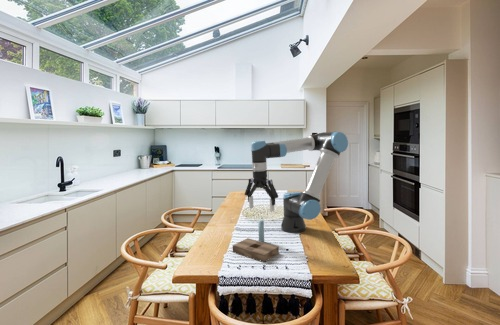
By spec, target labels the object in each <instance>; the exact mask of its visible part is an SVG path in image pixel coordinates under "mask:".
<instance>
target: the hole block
mask: <svg viewBox="0 0 500 325" xmlns="http://www.w3.org/2000/svg"><path fill="white" fill-rule="evenodd" d="M279 248H280V247H279V246H278V245H275V244H271V243H267V242H265V241H264V242H260V241H259V240H256V239H252V238H248V237H247V238H245V239H243V240H241V241H238V242H237V243H235V244H233V245H232V253H234V252H236V253H235V254H237V253H239V254H238V255H240V254H242V255H241V256H243V255H245V257H247V256H248V258H250V257H251V258H250V259H253V258H254V259H253V260H256V259H257V260H256V261H259V260H261V261H260V262H262V261H264V262H263V263H266V262H267V261H269V260H270V258H271V259H272V258H274V257H275V256H277V255H279V254H280V253H279V252H280V251H279V250H280V249H279ZM268 259H269V260H268ZM266 260H267V261H266ZM265 261H266V262H265Z"/></svg>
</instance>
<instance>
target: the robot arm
mask: <svg viewBox="0 0 500 325" xmlns="http://www.w3.org/2000/svg"><path fill="white" fill-rule="evenodd" d="M250 146H251V147H250V148H251V149H250V150H251V161H252V162H251V163H252V164H251V166H252V177H251V178H249V179H248V183H247V186H246V189H245V192H244V196H247V202H248V203H249V204H248V206H249V210H251V209H254V196H253V194H254V192H255V191H256V189H263V190H264V191H265V192H266V194H267V195H268V196H269V198H270V199H269V208H270V210H269V211H270V212H271V213H272V212H274V211H275V205H276V199H277V198H279V195H278V192H277V190H276V188H275V185H274V182H273V179H267V178H268V172H267V171H268V168H267V167H268V165H267V163H268V162H267V159H274V158H275V159H276V158H284V157H286V156H287V154H289V153H294V152H302V151H307V150H308V151H311V152H312V151H319V152H320V154H319V155H320V156H319V157H318V160H317V161H316V164H315V166H314V168H313V172H312V173H311V175H310V178H309V180H308V183H307V185H306V188H305V189H304V190H303V191H290V192H285V193H284V194H283V196H282V200H283V202H282V203H283V218H282V222H281V224H280V226H281V227H280V228H281V230H282V231H283V232H285V233H292V234H294V233H295V234H296V233H301V232H305V231H306V229H307V228H306V222H305V220H311V221H312V220H313V219H316V218H317V217H319V215H320V213H321V210H322V207H321V204H320V202H321V198H320V195H321V193H322V190H323V188H324V186H325V183H326V181H327V179H328V177H329V174H330V172H331V168H332V167H333V165H334V162H335V160H336V159H337V158H339V157H340V155H341V153H344V152H345V151H346V150H347V149H348V146H349V140H348V137H347V136H346V134H345V133H344V132H341V131H328V132H327V131H325V132H319V133H315V134H312V135H307V136H306V137H302V138H294V139H287V140H279V141H273V142H267V143H266V141H265V140H256V141H255V140H254V141H252V142H251V145H250Z"/></svg>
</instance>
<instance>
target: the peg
mask: <svg viewBox="0 0 500 325" xmlns="http://www.w3.org/2000/svg"><path fill="white" fill-rule="evenodd" d="M257 223H258V225H257V226H258V241H260V242H264V243H265V223H264V219H260V220H258V221H257Z"/></svg>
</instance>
